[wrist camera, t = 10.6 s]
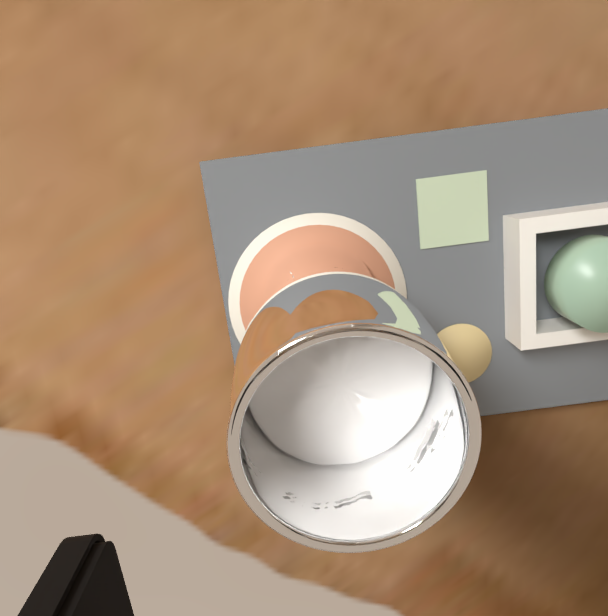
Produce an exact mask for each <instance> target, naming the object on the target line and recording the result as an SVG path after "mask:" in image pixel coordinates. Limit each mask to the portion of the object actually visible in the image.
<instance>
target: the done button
mask: <svg viewBox="0 0 608 616" xmlns="http://www.w3.org/2000/svg"><path fill="white" fill-rule="evenodd" d="M544 290H545V295H546V298H547V300H548V302H549V304H550V305H551V307H552V308H553V309H554V310H555V311H556V312H557V313H558V314H560V315H561V316H563V317H565V318H567V319H569V320H571V321H572V322H574V323H576V324H578V325H580V326H582V327H584V328H586V329H587V330H590V331H594V332H599V333H608V236H603V235H595V234H594V235H585V236H581V237H578V238H576V239H574V240H572V241H570V242H568V243H567V244H565V245H564V246H563V247H562V248H560V249H559V250H558V251H557V253H556V254H555V255H554V256H553V258H552V259H551V261H550V263H549V265H548V267H547V270H546V273H545V278H544Z"/></svg>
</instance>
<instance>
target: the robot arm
mask: <svg viewBox="0 0 608 616" xmlns="http://www.w3.org/2000/svg"><path fill="white" fill-rule="evenodd" d="M18 616H134V614H133V610H132V606H131V603H130V599H129V596H128V592H127V589H126V585H125V581H124V578H123V574H122V571H121V567H120V563H119V560H118V556H117V553H116V549H115V546H114V544H113V543H112V542H111V541H107V542H105V540H104V538H103V536H101V535H100V534H91V535H83V536H75V537H68V538H66V539H64V540H63V541H62V542H61V543H60V545H59V547H58V548H57V550H56V552H55V553H54V555H53V557H52V558H51V560H50V562H49V564H48V565H47V567H46V569H45V570H44V572H43V574H42V575H41V577H40V579H39V580H38V582H37V584H36V586H35V587H34V589H33V591H32V592H31V594H30V596H29V597H28V599H27V601H26V602H25V604H24V606H23V608H22V609H21V611H20V613H19V614H18Z"/></svg>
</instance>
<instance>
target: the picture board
mask: <svg viewBox="0 0 608 616" xmlns="http://www.w3.org/2000/svg"><path fill="white" fill-rule="evenodd" d="M200 168H201V174H202V180H203V186H204V191H205V197H206V203H207V209H208V214H209V220H210V226H211V232H212V237H213V243H214V249H215V255H216V260H217V266H218V272H219V278H220V283H221V289H222V295H223V301H224V307H225V312H226V318H227V324H228V330H229V335H230V341H231V347H232V353H233V358H234V364H235V363H236V358H237V354H238V351H239V348H240V345H241V343H242V340H243V337H244V334H245V332H246V329H247V327H248V325H249V323H250V322H251V320H252V318H253V317H254V315H255V314H256V312H257V311H258V310H259V308H260V307H261V305H262V304H263V290H264V286H265V283H266V280H267V278H268V276H269V274H270V272H271V270H272V269H273V267H274V266H275V265H276V264H277V262H278V261H279V260H280V259H281V258H283V257H284V256H285V255H286V254H288V253H289V252H291V251H293V250H295V249H297V248H300V247H302V246H306V245H310V244H331V245H335V246H339V247H342V248H344V249H346V250H348V251H350V252H352V253H353V254H354V255H356V256H357V257H358V258H359V259H360V260H361V261H362V262H363V263H364V264H365V265H366V267H367V268H368V269H369V271H370V273H371V275H372V277H373V278H375V279H377V280H379V281H381V282H383V283H385V284H387V285H389V286H390V287H392V288H394V289H395V290H396V291H398V292H399V293H400V294H401V295H403V296H404V297H405V298H406V299H407V300H408V301H409V302H410V303H411V304H412V305H413V306H415V307H416V308H417V309H418V310H419V312H420V313H421V314H422V315H423V316H424V317H425V319H426V320H427V321H428V323H429V324H430V325H431V326H432V328H433V329H434V330H435V332H436V333H437V334H438V336H439V338H440V339H441V341H442V342H443V344H444V346H445V347H446V349H447V350H448V352H449V354H450V355H451V357H452V359H453V361H454V363H455V364H456V365H457V367H458V368H459V369H460V370H461V372H462V373H463V375H464V376H465V377H466V379H467V381H468V383H469V384H470V386H471V388H472V390H473V393H474V395H475V398H476V401H477V404H478V408H479V412H480V416H486V415H494V414H501V413H509V412H517V411H525V410H532V409H540V408H548V407H556V406H563V405H571V404H579V403H587V402H595V401H602V400H608V333H599V332H594V331H590V330H587V329H586V328H584V327H582V326H580V325H578V324H576V323H574V322H572V321H571V320H569V319H567V318H565V317H563V316H561V315H560V314H558V313H557V312H556V311H555V310H554V309H553V308H552V307H551V305H550V304H549V302H548V300H547V298H546V295H545V290H544V278H545V273H546V270H547V267H548V265H549V263H550V261H551V259H552V258H553V256H554V255H555V254H556V253H557V251H558V250H559V249H560V248H562V247H563V246H564V245H565V244H567V243H568V242H570V241H572V240H574V239H576V238H578V237H581V236H585V235H594V234H595V235H603V236H608V109H600V110H593V111H585V112H577V113H570V114H562V115H554V116H547V117H539V118H531V119H524V120H516V121H508V122H501V123H493V124H485V125H478V126H470V127H462V128H455V129H447V130H439V131H432V132H424V133H416V134H409V135H401V136H393V137H386V138H378V139H370V140H363V141H355V142H347V143H340V144H332V145H325V146H317V147H309V148H302V149H294V150H286V151H279V152H271V153H263V154H256V155H248V156H240V157H233V158H225V159H217V160H210V161H202V162H200Z"/></svg>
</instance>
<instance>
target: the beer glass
mask: <svg viewBox="0 0 608 616" xmlns="http://www.w3.org/2000/svg"><path fill="white" fill-rule="evenodd" d="M481 440H482V426H481V417H480V412H479V408H478V404H477V401H476V398H475V395H474V393H473V390H472V388H471V386H470V384H469V383H468V381H467V379H466V377H465V376H464V375H463V373H462V372H461V370H460V369H459V368H458V367H457V365H456V364H455V363H454V361H453V359H452V357H451V355H450V354H449V352H448V350H447V349H446V347H445V346H444V344H443V342H442V341H441V339H440V338H439V336H438V334H437V333H436V332H435V330H434V329H433V328H432V326H431V325H430V324H429V323H428V321H427V320H426V319H425V317H424V316H423V315H422V314H421V313H420V312H419V310H418V309H417V308H416V307H415V306H413V305H412V304H411V303H410V302H409V301H408V300H407V299H406V298H405V297H404V296H403V295H401V294H400V293H399V292H398V291H396V290H395V289H394V288H392V287H390V286H389V285H387V284H385V283H383V282H381V281H379V280H377V279H375V278H373V277H372V275H371V273H370V271H369V269H368V268H367V267H366V265H365V264H364V263H363V262H362V261H361V260H360V259H359V258H358V257H357V256H356V255H354V254H353V253H352V252H350V251H348V250H346V249H344V248H342V247H339V246H335V245H331V244H310V245H306V246H302V247H300V248H297V249H295V250H293V251H291V252H289V253H288V254H286V255H285V256H284V257H283V258H281V259H280V260H279V261H278V262H277V264H276V265H275V266H274V267H273V269H272V270H271V272H270V274H269V276H268V278H267V280H266V283H265V286H264V290H263V304H262V305H261V307H260V308H259V310H258V311H257V312H256V314H255V315H254V317H253V318H252V320H251V322H250V323H249V325H248V327H247V329H246V332H245V334H244V337H243V340H242V343H241V345H240V348H239V351H238V354H237V358H236V363H235V369H234V374H233V380H232V389H231V401H230V418H229V423H228V429H227V456H228V462H229V467H230V470H231V474H232V477H233V480H234V482H235V484H236V487H237V489H238V491H239V492H240V494H241V496H242V498H243V499H244V501H245V502H246V504H247V505H248V506H249V507H250V509H251V510H252V511H253V512H254V513H255V514H256V515H257V516H258V517H259V518H260V519H261V520H262V521H263V522H264V523H265V524H266V525H268V526H269V527H270V528H272V529H273V530H274V531H276V532H278V533H279V534H281V535H282V536H284V537H286V538H288V539H290V540H292V541H294V542H297V543H299V544H302V545H305V546H308V547H311V548H315V549H319V550H323V551H330V552H340V553H358V552H368V551H374V550H379V549H384V548H387V547H391V546H394V545H397V544H399V543H402V542H404V541H407V540H409V539H411V538H413V537H415V536H417V535H419V534H420V533H422V532H424V531H425V530H427V529H428V528H430V527H431V526H433V525H434V524H435V523H436V522H438V521H439V520H440V519H441V518H442V517H443V516H444V515H446V514H447V513H448V511H449V510H450V509H451V508H452V507H453V506H454V505H455V504H456V502H457V501H458V500H459V499H460V497H461V496H462V494H463V493H464V491H465V490H466V488H467V486H468V484H469V482H470V480H471V478H472V476H473V474H474V471H475V469H476V466H477V462H478V459H479V455H480V449H481Z"/></svg>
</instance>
